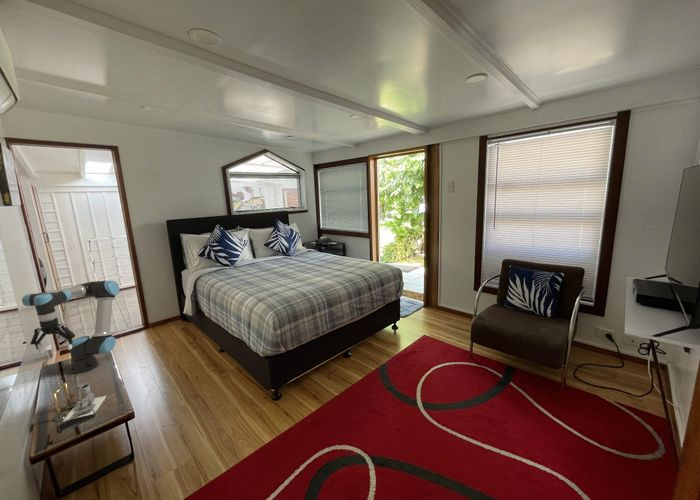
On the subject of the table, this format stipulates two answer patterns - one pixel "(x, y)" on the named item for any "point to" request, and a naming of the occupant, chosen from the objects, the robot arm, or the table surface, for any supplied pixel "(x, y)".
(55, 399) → the wire frame
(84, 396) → the camera
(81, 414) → the mat
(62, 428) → the phone
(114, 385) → the table surface
